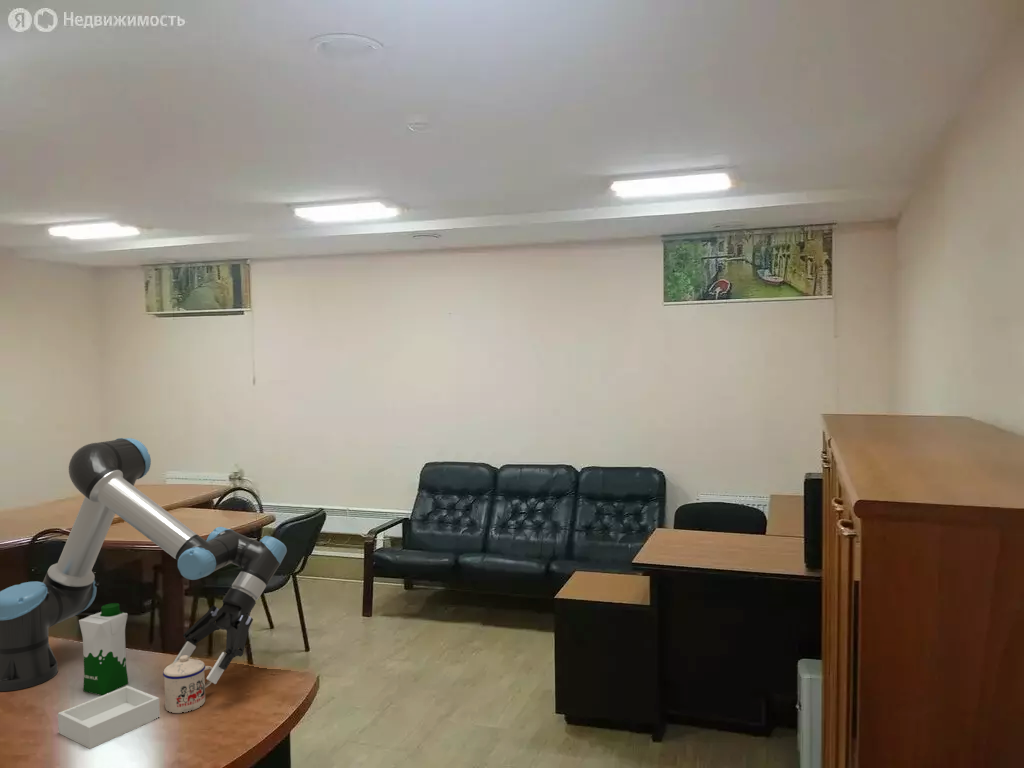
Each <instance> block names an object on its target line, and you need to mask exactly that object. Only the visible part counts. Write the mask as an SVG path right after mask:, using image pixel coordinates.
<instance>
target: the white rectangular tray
mask: <svg viewBox="0 0 1024 768" xmlns="http://www.w3.org/2000/svg"><path fill="white" fill-rule="evenodd" d="M160 714H161V713H160V697H157V696H155V695H152V694H150V693H147V692H146V691H142V690H140V689H138V688H135V687H132V686H130V685H124V686H122V687H120V688H118V689H116V690H114V691H112V692H110V693H108V694H105V695H99V696H98V697H95V698H93V699H90V700H88V701H85V702H83V703H80V704H78V705H75V706H73V707H70V708H68V709H65V710H63V711H60V712H57V719H58V721H57V722H58V734H60V736H61V735H62V736H64V737H66V738H68V739H69V740H72V741H73V742H76V744H77V743H78V744H79V745H81V746H83V747H85V748H88V749H89V750H90V748H91V749H92V748H95V747H98V746H99V744H100V745H102V744H105V743H106V742H108V741H110V740H112V739H115V738H117V737H119V736H122V735H124V734H126V733H128V732H131V731H133V730H135V729H137V728H139V727H141V726H144V725H146V724H149V723H150V722H153V721H155V720H157V719H159V718H158V717H160ZM156 718H157V719H156ZM154 719H155V720H154Z"/></svg>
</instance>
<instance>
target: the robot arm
mask: <svg viewBox="0 0 1024 768" xmlns="http://www.w3.org/2000/svg"><path fill="white" fill-rule="evenodd" d="M151 462H152V460H151V454H150V453H149V451H148V448H147V447H146V446H145V445H144V444H143V443H142V441H140V440H138V439H135V438H132V437H128V438H123V437H121V438H116V439H113V440H106V441H101V442H91V443H88V444H85V445H84V446H81V447H80V448H78V449H77V450H76V451H75V452H73V454H72V456H71V459H70V461H69V464H68V474H69V478H70V481H71V482H72V484H73V485H74V487H75V488H76V490H78V491H79V492H80V493H81V494H82V495H83V496H84V498H83V500H82V502H81V505H80V508H79V510H78V513H77V516H76V517H75V520H74V523H73V525H72V528H71V529H70V532H69V534H68V536H67V539H66V542H65V544H64V546H63V549H62V552H61V553H60V556H59V559H58V561H57V562H56V563H54V564H51V565H50V566H49V568H48V570H47V572H46V574H45V577H44V578H43V581H28V582H27V581H26V582H21V583H20V584H14V585H12V586H11V585H10V586H9V587H6V588H5V589H2V590H0V692H10V691H18V690H22V689H27V688H31V687H34V686H38V685H40V684H42V683H45V682H47V681H49V680H50V679H52V678H54V677H56V675H57V674H58V672H59V671H58V670H59V668H58V660H57V658H56V657H55V654H54V652H53V650H52V647H51V645H50V642H49V628H50V627H53V626H55V625H57V624H59V623H62V622H64V621H66V620H69V619H70V618H73V617H75V616H78V615H80V614H81V613H82V612H84V611H85V610H88V608H89V607H91V605H92V604H93V602H94V601H95V599H96V596H97V588H98V587H97V586H96V585H95V584H96V580H95V578H96V577H95V573H94V572H93V571H92V570H93V567H94V565H95V564H96V561H97V559H98V556H99V553H100V551H101V548H102V547H103V543H104V542H105V539H106V537H107V534H108V533H109V530H110V527H111V525H112V523H113V520H114V518H115V516H116V515H117V516H118V517H119V518H121V519H122V520H123V521H124V522H126V523H128V525H130V526H132V527H133V528H134V529H135V530H137V531H138V532H140V534H141V535H143V536H144V537H146V538H147V539H148V540H150V541H151V542H152V543H154V545H156V546H158V547H159V548H160V549H162V550H163V551H164V552H165V553H167V554H168V555H170V556H171V558H173V559H175V560H176V561H177V569H178V571H179V573H180V575H181V576H182V577H183V578H184V579H187V580H192V581H195V580H199V579H202V578H205V577H207V576H210V575H211V574H212V573H214V572H215V571H217V570H219V569H221V568H224V567H226V566H227V565H230V564H232V565H235V566H237V567H240V568H241V570H240V572H239V574H238V575H237V577H236V578H235V580H234V581H233V582H232V584H231V588H229V589H228V590H227V592H226V594H225V595H224V597H222V598H223V599H222V606H221V607H220V608H218V607H217V606H216V605H214V604H213V605H211V607H210V608H209V609H208V611H207V612H206V613H205V614H204V615H203V616H201V617H200V618H199V619H198V620H197V621H196V622H195V623H194V624H193V625H192V626H191V627H189V629H187V630H186V631H185V632H184V633H183V634H182V637H183V638H184V639H185V642H184V644H183V645H182V647H181V648H180V650H179V652H178V654H177V656H176V658H175V659H174V660H173V662H172V663H175V662H176V661H178V660H179V658H180V657H181V656H183V655H187V656H188V657H189V658H191V656H192V654H193V653H194V651H195V650H196V648H197V644H198V643H199V642H201V641H202V640H204V639H205V638H207V637H208V636H209V635H211V634H212V633H214V632H215V631H219V630H223V631H224V630H225V631H226V638H225V639H226V641H225V642H226V644H225V650H223V651H222V652H221V654H220V655H219V657H218V659H217V660H216V662H215V663H214V665H213V666H212V670H211V672H210V671H209V673H208V675H207V676H206V678H205V680H207V681H208V680H209V681H211V682H212V683H211V684H214V685H216V684H217V683H218V681H219V680H220V678H221V677H222V675H223V673H224V672H225V671H226V670H227V668H228V667H229V665H230V664H231V662H232V660H233V659H234V658H236V657H243V656H244V655H243V654H244V652H245V647H246V644H247V639H248V634H249V630H250V627H251V624H252V623H253V621H254V619H253V618H252V617H251V616H250V613H251V612H252V610H253V609H254V607H255V605H256V604H257V603H256V602H257V601H258V600H259V599H260V597H261V595H262V594H263V592H264V590H265V589H266V588H267V586H268V584H269V582H270V581H271V579H272V578H273V576H274V574H275V573H276V572H277V570H278V569H279V566H281V564H282V562H283V560H284V558H285V556H286V554H287V552H288V550H287V546H286V545H285V543H284V542H282V541H281V540H279V539H277V538H276V537H273V536H269V535H265V536H263V537H262V538H261V539H260V540H259V541H258V540H255V539H252V538H250V537H248V536H246V535H243V534H241V533H239V532H237V531H235V530H233V529H231V528H227V527H224V526H217V527H216V528H214V529H213V531H211V532H210V533H209V534H208V537H207V538H206V539H204V538H203V537H201V535H199V534H198V533H197V532H195V531H193V530H192V529H191V528H189V527H188V526H187V525H185V524H184V522H181V521H180V520H179V519H178V518H176V516H173V514H171V513H170V512H168V510H166V509H164V508H163V507H162V506H161V505H159V504H158V503H156V502H155V501H154V500H153V499H151V498H150V497H149V496H148V495H147V494H145V493H144V492H142V491H141V490H139V489H138V488H137V487H135V484H136V482H137V480H140V479H142V478H143V477H145V476H146V475H147V473H148V472H149V471H150V468H151V464H152V463H151Z"/></svg>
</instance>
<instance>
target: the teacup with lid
mask: <svg viewBox="0 0 1024 768" xmlns="http://www.w3.org/2000/svg"><path fill="white" fill-rule="evenodd" d="M212 668H213V666H210V665H205V662H204V661H203V660H200V659H194V658H191V657H188V656H187V655H183V656H181V657H180V658H179V660H178V661H176V662H175V663H173V662H172V663H171V664H170V663H169V665H167V666H166V667H165V668H164V669H163V672H162V675H163V678H164V679H163V680H164V709H165V710H166V711H169V713H171V712H172V713H173V714H183V713H182V712H184V713H188V711H189V712H192V711H194V710H197V709H199V708H201V707H202V706H203V705H204V704H205V702H206V688H208V687H210V685H211V684H213V683H212V682H211V681H209V680H207V681H205V680H206V678H205V677H206V676H205V671H208V670H209V673H210V672H211V670H212ZM200 706H201V707H200ZM191 710H192V711H191Z"/></svg>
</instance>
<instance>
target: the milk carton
mask: <svg viewBox="0 0 1024 768" xmlns="http://www.w3.org/2000/svg"><path fill="white" fill-rule="evenodd" d="M100 609H101V610H100V612H99V611H98V612H96V613H95V614H94V613H93V614H91V615H88V616H86V617H84V618H81V619H78V623H79V628H80V632H81V636H82V637H81V638H82V650H83V652H82V655H83V657H82V658H83V688H82V689H83V692H86V693H90V694H95V695H98V694H99V696H103V695H105V694H107V693H110V692H113V691H115V690H118V689H120V688H123V687H125V686H127V685H128V684H129V678H128V670H127V656H126V655H127V654H126V653H127V652H126V626H127V625H126V624H127V621H128V615H129V614H128V613H127V612H124V611H121V609H120V603H117V602H112V603H107V604H104V605H102V606H101V607H100Z"/></svg>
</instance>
